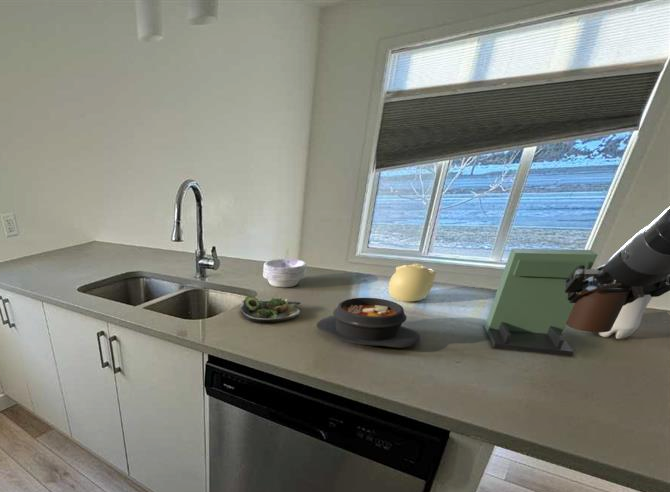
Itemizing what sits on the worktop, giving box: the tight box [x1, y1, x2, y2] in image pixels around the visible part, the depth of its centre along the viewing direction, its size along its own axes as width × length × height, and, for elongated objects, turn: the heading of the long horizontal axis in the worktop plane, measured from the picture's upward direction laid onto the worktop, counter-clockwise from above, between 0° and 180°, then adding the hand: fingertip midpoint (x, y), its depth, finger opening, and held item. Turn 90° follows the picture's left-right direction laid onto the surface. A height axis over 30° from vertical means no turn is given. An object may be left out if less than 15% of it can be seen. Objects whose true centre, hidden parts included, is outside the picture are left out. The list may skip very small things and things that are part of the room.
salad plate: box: [239, 295, 302, 324], centre depth 126 cm, size 19×18×5 cm
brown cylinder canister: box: [566, 284, 631, 333], centre depth 78 cm, size 6×6×8 cm
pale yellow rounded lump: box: [388, 263, 437, 302], centre depth 125 cm, size 12×12×11 cm
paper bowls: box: [262, 258, 308, 288], centre depth 149 cm, size 15×15×8 cm
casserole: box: [316, 297, 421, 349], centre depth 104 cm, size 25×19×8 cm
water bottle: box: [595, 295, 653, 340], centre depth 90 cm, size 7×7×25 cm
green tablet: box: [484, 248, 598, 357], centre depth 93 cm, size 14×14×20 cm
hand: (595, 299), depth 79 cm, fingers closed on brown cylinder canister, 6 cm apart
